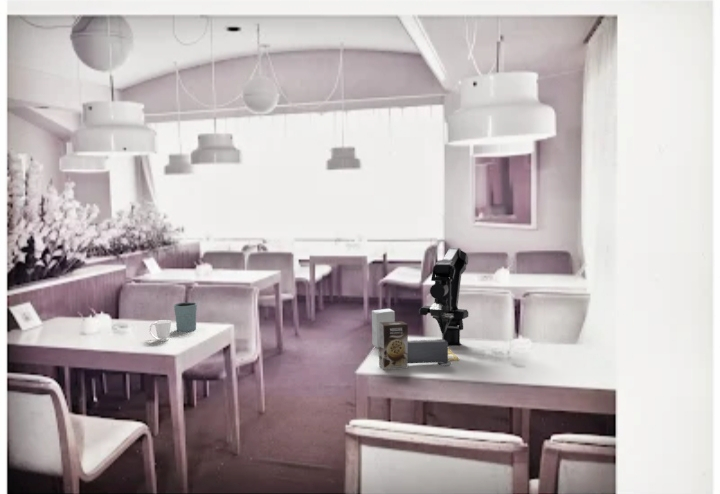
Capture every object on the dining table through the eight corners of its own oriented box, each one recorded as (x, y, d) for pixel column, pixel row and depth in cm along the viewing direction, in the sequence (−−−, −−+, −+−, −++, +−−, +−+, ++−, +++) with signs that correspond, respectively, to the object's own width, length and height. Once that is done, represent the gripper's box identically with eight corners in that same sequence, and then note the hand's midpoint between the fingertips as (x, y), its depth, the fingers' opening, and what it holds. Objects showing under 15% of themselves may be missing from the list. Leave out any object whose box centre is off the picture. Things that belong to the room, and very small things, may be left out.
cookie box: (384, 370, 224) (383, 325, 223) (378, 365, 230) (378, 321, 229) (408, 368, 226) (408, 323, 225) (402, 363, 233) (402, 320, 231)
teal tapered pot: (181, 333, 284) (180, 306, 283) (171, 329, 292) (170, 304, 291) (201, 329, 291) (200, 304, 290) (191, 326, 298) (190, 301, 297)
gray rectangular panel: (446, 360, 232) (446, 339, 232) (447, 362, 230) (447, 340, 230) (404, 362, 231) (404, 340, 230) (405, 363, 229) (405, 341, 228)
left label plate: (454, 354, 244) (454, 353, 244) (459, 360, 236) (459, 359, 236) (439, 355, 244) (439, 354, 243) (443, 360, 236) (443, 359, 236)
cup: (166, 342, 267) (165, 323, 267) (145, 341, 270) (144, 322, 269) (175, 338, 274) (174, 320, 274) (154, 337, 277) (154, 319, 276)
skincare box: (390, 343, 263) (389, 308, 262) (395, 346, 257) (395, 310, 256) (371, 345, 260) (371, 309, 259) (376, 348, 255) (376, 312, 253)
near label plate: (448, 349, 253) (448, 347, 253) (452, 354, 245) (452, 353, 245) (433, 349, 252) (433, 348, 252) (437, 354, 244) (437, 353, 244)
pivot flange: (449, 362, 234) (449, 360, 234) (452, 365, 229) (452, 364, 229) (436, 362, 234) (436, 360, 234) (438, 366, 229) (438, 364, 229)
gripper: (412, 295, 245) (412, 335, 246) (457, 299, 235) (457, 341, 236) (425, 291, 254) (425, 329, 256) (469, 295, 244) (468, 335, 246)
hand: (443, 333), depth 248 cm, fingers closed
